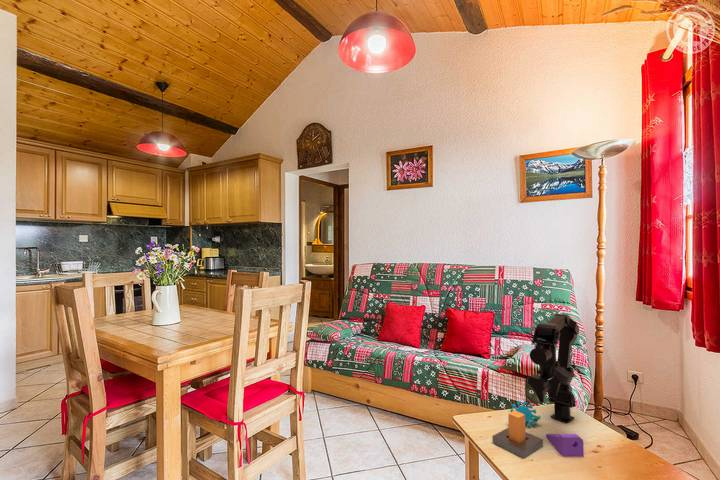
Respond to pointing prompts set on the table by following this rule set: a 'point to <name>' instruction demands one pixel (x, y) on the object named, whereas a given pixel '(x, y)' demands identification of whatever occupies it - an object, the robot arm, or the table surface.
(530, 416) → the gear
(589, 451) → the table surface
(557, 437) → the bracket
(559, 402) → the robot arm
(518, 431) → the tall orange pillar
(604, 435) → the table surface
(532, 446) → the slotted square tile
